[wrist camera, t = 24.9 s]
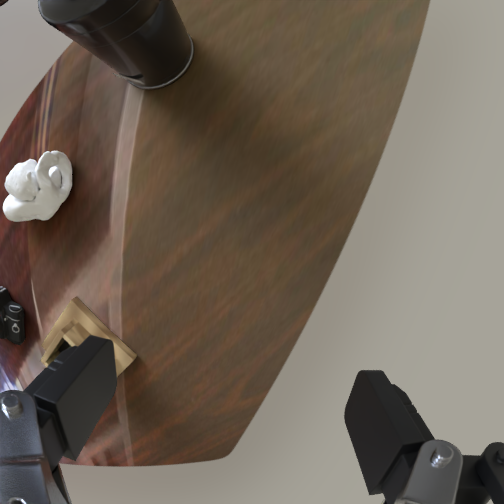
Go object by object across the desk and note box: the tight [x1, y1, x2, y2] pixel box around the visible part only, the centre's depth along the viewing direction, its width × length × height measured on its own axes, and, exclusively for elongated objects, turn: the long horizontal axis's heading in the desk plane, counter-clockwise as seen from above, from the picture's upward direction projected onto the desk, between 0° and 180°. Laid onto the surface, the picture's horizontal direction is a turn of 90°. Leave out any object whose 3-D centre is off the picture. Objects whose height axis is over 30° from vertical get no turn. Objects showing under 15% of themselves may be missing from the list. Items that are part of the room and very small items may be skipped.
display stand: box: [40, 297, 137, 377], centre depth 38 cm, size 12×12×6 cm
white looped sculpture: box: [3, 151, 72, 222], centre depth 32 cm, size 9×12×8 cm
